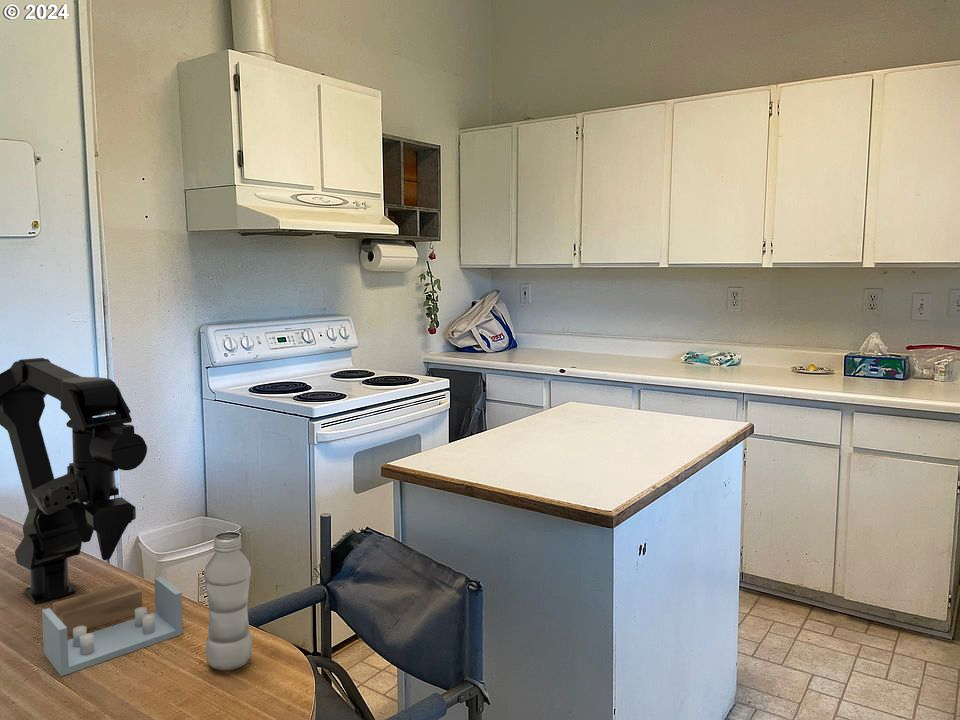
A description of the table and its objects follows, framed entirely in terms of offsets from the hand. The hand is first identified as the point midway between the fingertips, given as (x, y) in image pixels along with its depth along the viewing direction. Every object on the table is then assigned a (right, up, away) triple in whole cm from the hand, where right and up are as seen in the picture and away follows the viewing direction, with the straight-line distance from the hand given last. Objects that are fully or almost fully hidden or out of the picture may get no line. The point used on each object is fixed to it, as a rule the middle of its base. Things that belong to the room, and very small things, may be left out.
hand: (96, 550), depth 117 cm
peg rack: (+6, -13, -6) cm, 15 cm away
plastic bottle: (+25, -14, -10) cm, 31 cm away
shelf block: (0, -12, +2) cm, 12 cm away
